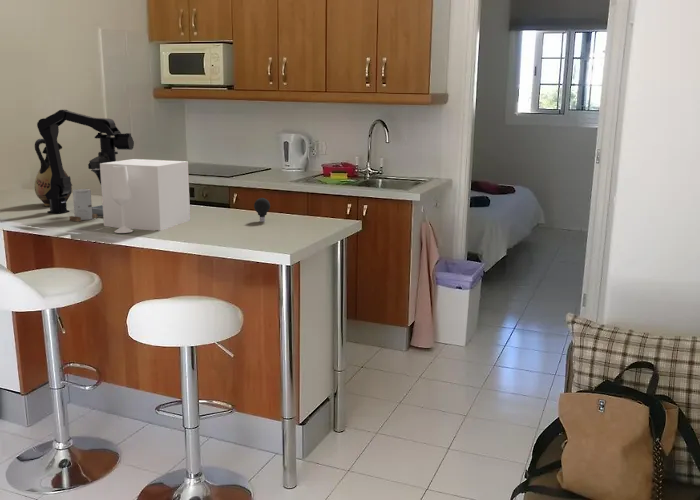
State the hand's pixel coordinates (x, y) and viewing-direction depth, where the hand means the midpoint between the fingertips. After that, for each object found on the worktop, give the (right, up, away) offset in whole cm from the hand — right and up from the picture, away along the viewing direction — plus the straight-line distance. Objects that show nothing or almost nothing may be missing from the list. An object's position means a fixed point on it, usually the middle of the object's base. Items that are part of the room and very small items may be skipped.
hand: (110, 186), depth 284 cm
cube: (+21, -17, -17) cm, 32 cm away
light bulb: (+66, -16, -13) cm, 69 cm away
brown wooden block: (-7, -14, -10) cm, 19 cm away
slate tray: (0, -11, +3) cm, 12 cm away
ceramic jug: (-34, -6, +23) cm, 42 cm away
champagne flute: (+17, -20, -33) cm, 42 cm away
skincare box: (-7, -14, -10) cm, 19 cm away
